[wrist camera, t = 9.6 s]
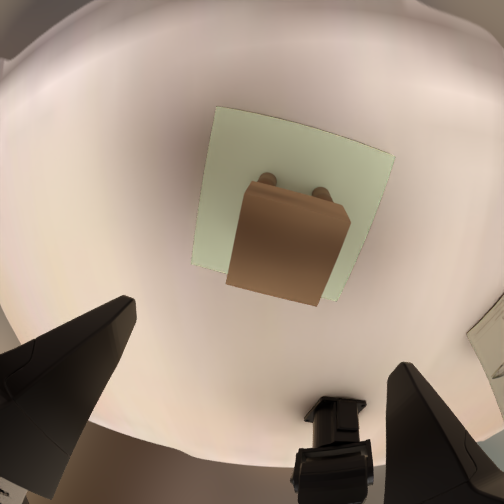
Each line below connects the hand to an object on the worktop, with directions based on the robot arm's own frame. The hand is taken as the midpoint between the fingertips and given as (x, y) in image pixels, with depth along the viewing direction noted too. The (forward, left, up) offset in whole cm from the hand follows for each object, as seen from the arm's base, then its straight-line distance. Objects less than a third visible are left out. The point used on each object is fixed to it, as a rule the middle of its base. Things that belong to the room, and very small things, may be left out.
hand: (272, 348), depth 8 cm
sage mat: (0, 0, -13) cm, 13 cm away
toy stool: (0, 0, -12) cm, 12 cm away
